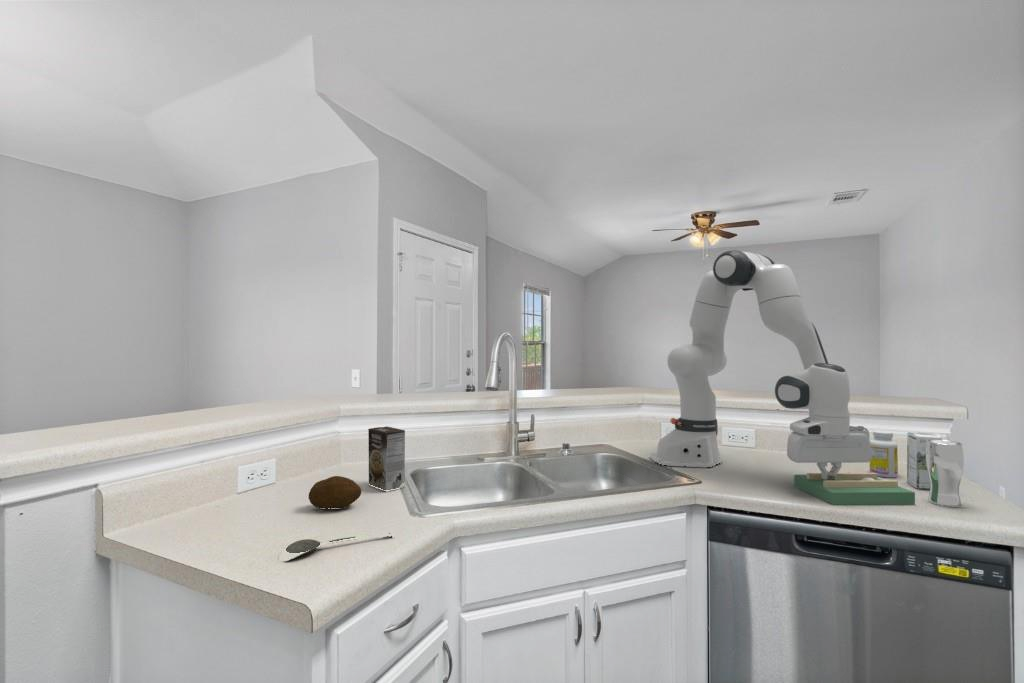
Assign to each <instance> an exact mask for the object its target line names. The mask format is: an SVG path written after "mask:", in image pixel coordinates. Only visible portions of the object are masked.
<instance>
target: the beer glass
mask: <svg viewBox="0 0 1024 683" xmlns="http://www.w3.org/2000/svg"><path fill="white" fill-rule="evenodd" d="M964 461H965V460H964V451H963V443H962V442H959V441H953V440H948V439H947V440H946V439H942V440H935V439H931V440H927V444H926V467H927V472H928V476H929V481H930V490H929V494H928V498H927V501H928V502H929V503H931V504H933V503H934V505H936V504H938V506H940V505H943V506H942V507H946V506H953V507H952V508H957V507H956V506H961V507H962V501H961V496H960V486H961V480H962V476H963V472H964V465H965V463H964ZM954 506H955V507H954Z"/></svg>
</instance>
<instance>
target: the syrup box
mask: <svg viewBox="0 0 1024 683" xmlns="http://www.w3.org/2000/svg"><path fill="white" fill-rule="evenodd" d="M906 436H907V438H906V439H907V440H906V441H907V442H906V445H907V448H906V450H907V451H906V452H907V453H906V457H907V459H906V460H907V462H906V463H907V464H906V471H907V473H906V477H907V479H906V481H907V482H906V483H907V484H908V485H910V486H911V487H913V488H915V490H916V489H917V490H918V489H919V490H927V491H928V490H929V491H930V481H929V476H928V472H927V467H926V444H927V440H931V439H935V440H943V438H942V437H941V436H939V435H938V434H936V433H930V432H908V431H907V434H906Z"/></svg>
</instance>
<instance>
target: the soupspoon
mask: <svg viewBox="0 0 1024 683" xmlns="http://www.w3.org/2000/svg"><path fill="white" fill-rule="evenodd" d="M355 537H356V536H350V537H343V538H338V539H332V541H331V540H328V541H329V542H333V541H339V540H343V539H350V538H355ZM320 543H321V542H320V541H319V540H316V539H310V538H309V539H301V540H300V539H299V540H296V541H294V542H292V543H290V544H289V545H288V547H287V546H286V547H287V548H286V547H285V548H286V551H287V552H289V553H300V552H306V551H308V550H311V551H313V550H312V549H314V548H316V547H318V546H319V545H320ZM318 548H319V547H318ZM316 549H317V548H316ZM314 550H315V549H314Z"/></svg>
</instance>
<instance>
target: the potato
mask: <svg viewBox="0 0 1024 683" xmlns="http://www.w3.org/2000/svg"><path fill="white" fill-rule="evenodd" d="M361 488H362V487H361V486H360V485H358V483H357V482H355V481H354V480H352V479H350V478H348V477H346V476H342V475H341V476H340V475H334V476H330V477H328V478H325V479H321V480H319V481H317V482H315V483H314V484H313V485H312V486H311V488H310V489H309V490H310V491H309V492H308V497H307V498H308V500H309V502H310V504H311V505H312V506H314V507H316V508H317V507H318V508H317V509H320V508H325V509H324V510H332V509H331V508H342V509H345V508H347V507H348V506H349V507H350V506H351V505H352V504H353V503H355V502H356V501H357V500H358V499H359V498H360V497H361V496H362V495H361V494H362V489H361ZM344 507H345V508H344ZM328 508H330V509H328Z"/></svg>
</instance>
